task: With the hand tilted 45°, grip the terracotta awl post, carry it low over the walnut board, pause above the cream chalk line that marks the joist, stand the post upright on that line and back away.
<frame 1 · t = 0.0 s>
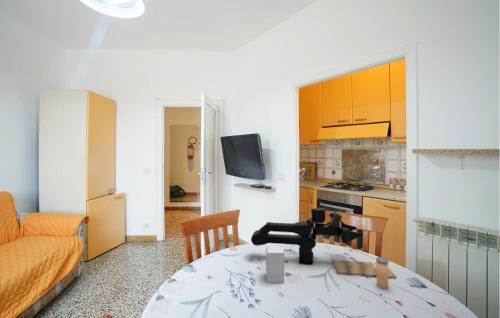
hand: (359, 231, 105), 17 cm above the table, tool horizontal, fingers open, 9 cm apart
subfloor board: (361, 269, 102), on the table
supplement box: (275, 278, 95), on the table
awl post: (382, 286, 88), on the table
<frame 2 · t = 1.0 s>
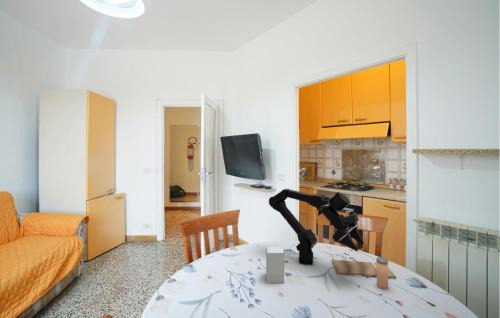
hand: (360, 247, 93), 14 cm above the table, tool tilted 45°, fingers open, 9 cm apart
nothing on the table moved.
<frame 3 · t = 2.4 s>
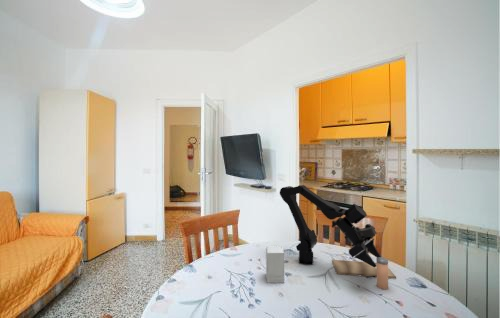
hand: (378, 262, 89), 9 cm above the table, tool tilted 45°, fingers open, 9 cm apart
nothing on the table moved.
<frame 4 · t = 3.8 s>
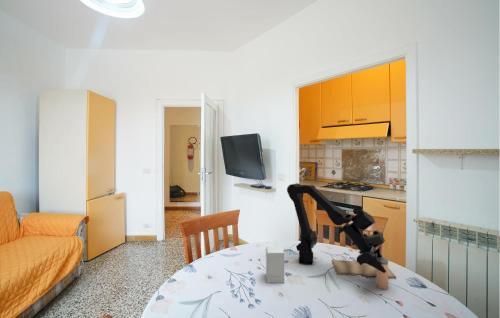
hand: (386, 270, 87), 7 cm above the table, tool tilted 45°, fingers closed on awl post, 4 cm apart
awl post: (382, 286, 88), on the table, touching gripper
everything else where it was.
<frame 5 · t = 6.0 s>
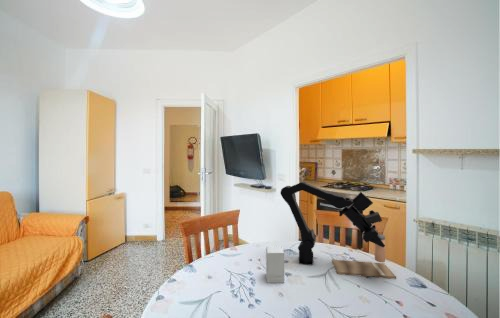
hand: (383, 244, 97), 13 cm above the table, tool tilted 45°, fingers closed on awl post, 4 cm apart
awl post: (379, 260, 97), point 6 cm above the table, touching gripper
everything else where it was.
when the fingers open (9 cm above the table, at t = 8.3 s): awl post stays where it is, resting on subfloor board.
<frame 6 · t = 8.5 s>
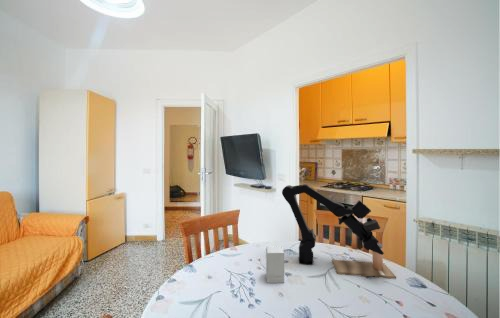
hand: (381, 251, 100), 9 cm above the table, tool tilted 45°, fingers open, 6 cm apart
awl post: (377, 268, 100), point 1 cm above the table, touching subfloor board
everything else where it was.
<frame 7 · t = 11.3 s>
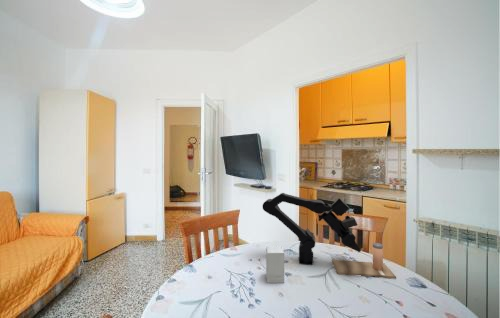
hand: (357, 247, 103), 9 cm above the table, tool tilted 45°, fingers open, 9 cm apart
nothing on the table moved.
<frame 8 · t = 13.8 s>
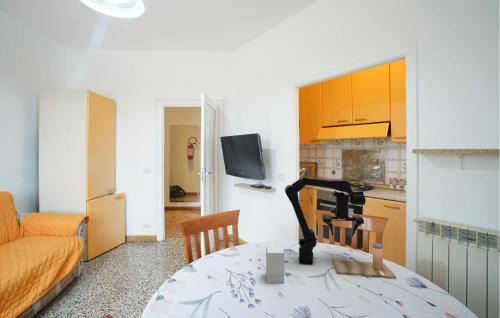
hand: (342, 236, 109), 13 cm above the table, tool pointing down, fingers open, 9 cm apart
nothing on the table moved.
at the end: awl post 0.0 cm from the target spot on the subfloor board, point 1.1 cm above the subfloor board's base; awl post tilted 0°; the gripper is holding nothing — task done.
